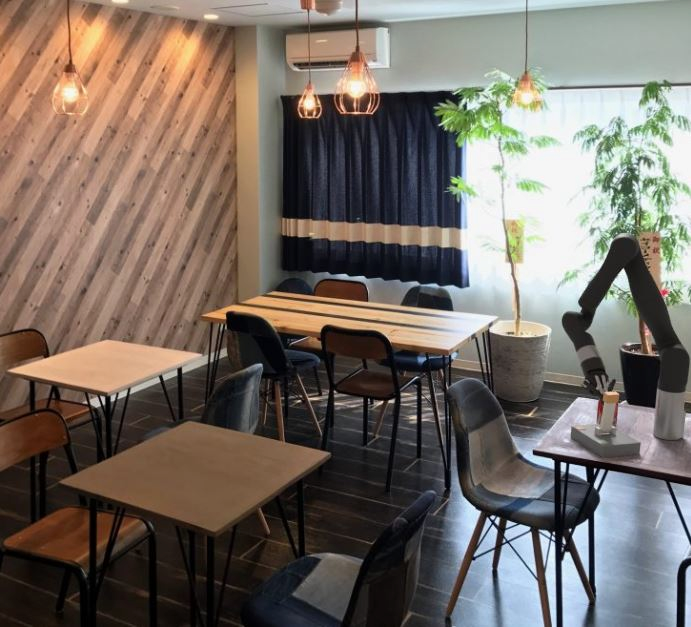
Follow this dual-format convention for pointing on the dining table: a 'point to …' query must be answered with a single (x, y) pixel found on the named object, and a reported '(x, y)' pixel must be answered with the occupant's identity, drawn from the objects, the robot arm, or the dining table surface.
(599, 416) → the soda can
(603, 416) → the lever
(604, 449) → the switch panel
